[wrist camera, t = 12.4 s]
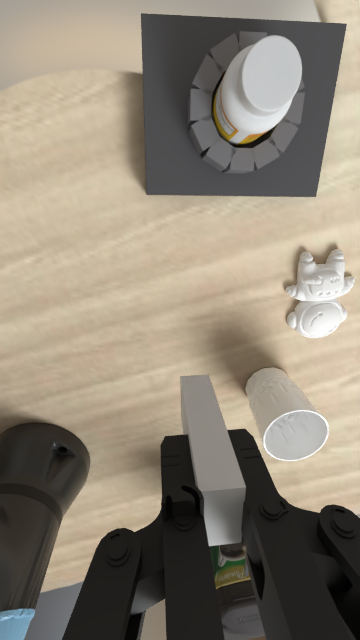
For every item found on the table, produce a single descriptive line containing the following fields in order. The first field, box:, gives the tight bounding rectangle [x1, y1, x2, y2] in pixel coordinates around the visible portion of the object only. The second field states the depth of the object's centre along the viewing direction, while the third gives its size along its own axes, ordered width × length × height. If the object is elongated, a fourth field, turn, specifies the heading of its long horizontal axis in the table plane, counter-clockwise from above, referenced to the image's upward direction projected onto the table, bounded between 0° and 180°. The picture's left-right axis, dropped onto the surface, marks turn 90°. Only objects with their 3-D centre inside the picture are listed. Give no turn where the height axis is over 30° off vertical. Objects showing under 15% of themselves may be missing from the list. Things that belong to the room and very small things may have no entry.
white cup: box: [245, 367, 329, 461], centre depth 38 cm, size 8×8×10 cm
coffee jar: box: [209, 535, 265, 640], centre depth 43 cm, size 10×8×19 cm
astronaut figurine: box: [286, 249, 355, 338], centre depth 37 cm, size 9×12×3 cm
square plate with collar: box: [141, 14, 347, 197], centre depth 27 cm, size 18×14×6 cm
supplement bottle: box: [211, 35, 302, 148], centre depth 23 cm, size 5×5×10 cm
